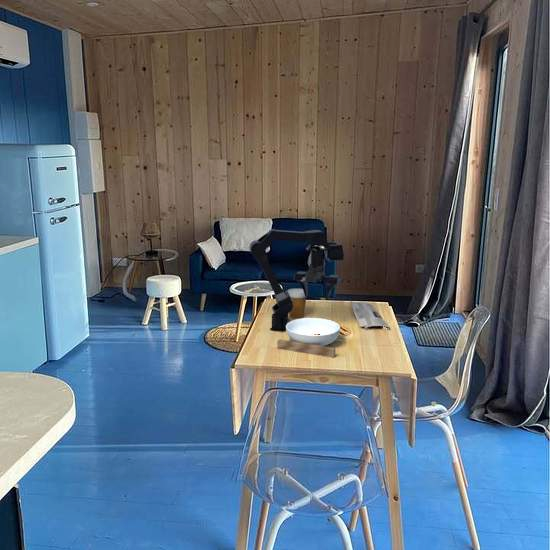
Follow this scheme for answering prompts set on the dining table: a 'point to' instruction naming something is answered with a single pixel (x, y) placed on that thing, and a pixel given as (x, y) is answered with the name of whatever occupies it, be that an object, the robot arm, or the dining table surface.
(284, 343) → the walnut bar
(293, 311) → the disposable coffee cup
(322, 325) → the serving bowl
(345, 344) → the dining table surface
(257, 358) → the dining table surface
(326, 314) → the dining table surface
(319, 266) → the robot arm
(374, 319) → the newspaper
